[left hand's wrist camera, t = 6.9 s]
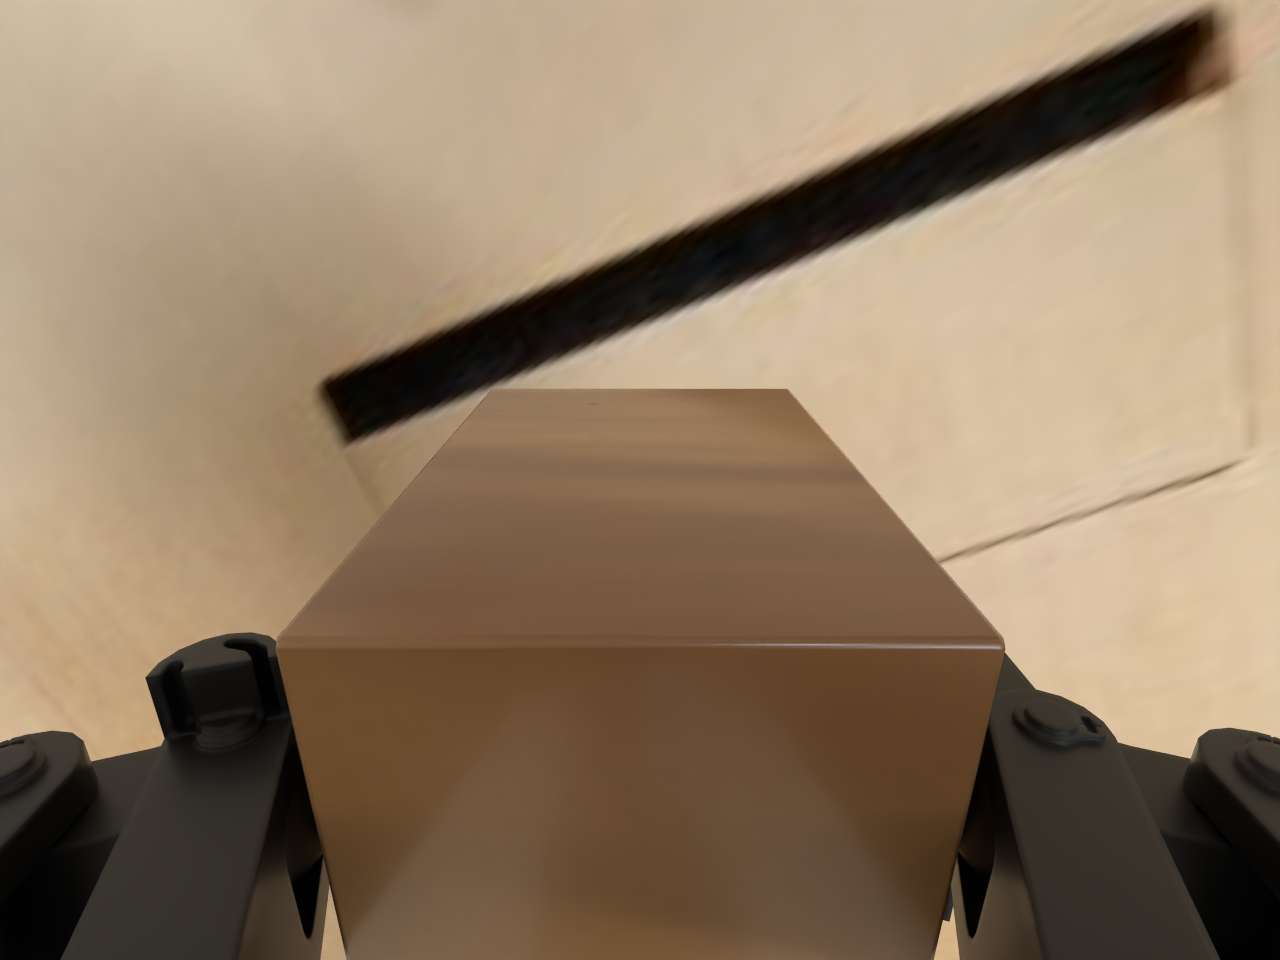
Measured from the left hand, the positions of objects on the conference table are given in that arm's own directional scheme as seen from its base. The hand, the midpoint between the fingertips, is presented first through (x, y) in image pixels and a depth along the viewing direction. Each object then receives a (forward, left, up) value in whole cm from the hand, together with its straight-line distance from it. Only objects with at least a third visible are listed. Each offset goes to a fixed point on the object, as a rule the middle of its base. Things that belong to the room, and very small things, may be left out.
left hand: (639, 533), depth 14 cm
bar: (+9, +2, 0) cm, 9 cm away
